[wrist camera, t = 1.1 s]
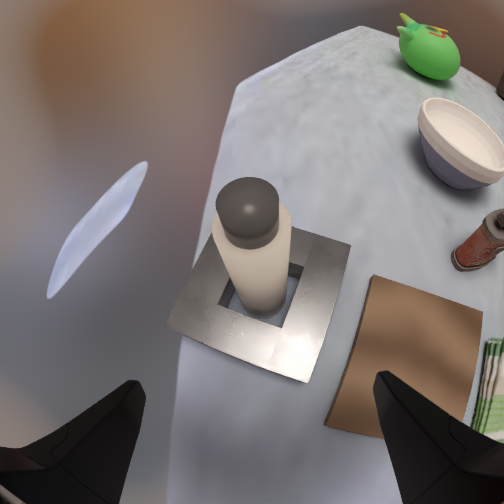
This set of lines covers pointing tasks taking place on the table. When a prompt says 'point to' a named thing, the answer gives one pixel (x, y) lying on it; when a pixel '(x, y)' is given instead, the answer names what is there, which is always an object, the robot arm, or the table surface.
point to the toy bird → (428, 50)
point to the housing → (257, 332)
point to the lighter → (481, 244)
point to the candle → (501, 86)
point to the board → (407, 353)
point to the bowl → (459, 145)
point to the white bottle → (254, 243)
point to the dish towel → (492, 393)
